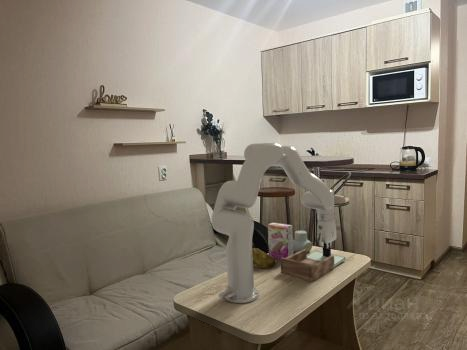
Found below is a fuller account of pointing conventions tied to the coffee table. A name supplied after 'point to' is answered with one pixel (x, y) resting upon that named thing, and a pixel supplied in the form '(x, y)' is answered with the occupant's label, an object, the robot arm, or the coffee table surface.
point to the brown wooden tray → (306, 266)
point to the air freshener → (301, 242)
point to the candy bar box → (280, 240)
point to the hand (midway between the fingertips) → (326, 255)
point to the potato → (262, 259)
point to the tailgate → (319, 257)
